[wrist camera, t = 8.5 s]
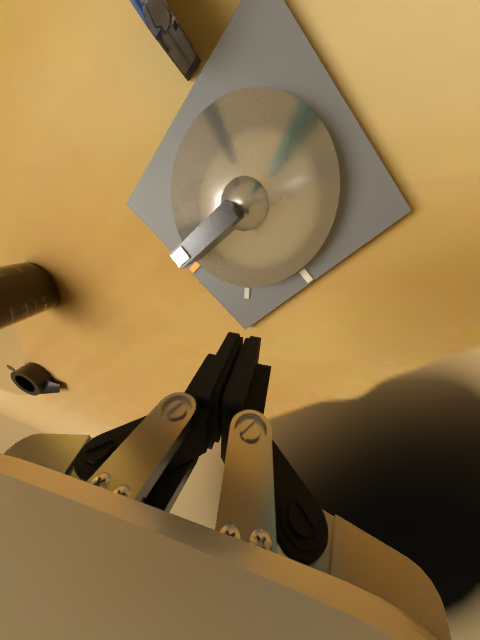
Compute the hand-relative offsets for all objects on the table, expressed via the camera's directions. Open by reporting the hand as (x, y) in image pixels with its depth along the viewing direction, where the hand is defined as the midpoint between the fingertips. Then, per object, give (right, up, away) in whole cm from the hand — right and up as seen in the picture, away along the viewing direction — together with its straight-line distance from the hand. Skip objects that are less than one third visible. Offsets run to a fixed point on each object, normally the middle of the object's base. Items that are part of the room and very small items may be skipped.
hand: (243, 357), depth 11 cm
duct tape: (-39, -9, +30) cm, 50 cm away
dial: (+1, +12, +7) cm, 14 cm away
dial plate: (+1, +13, +8) cm, 15 cm away
